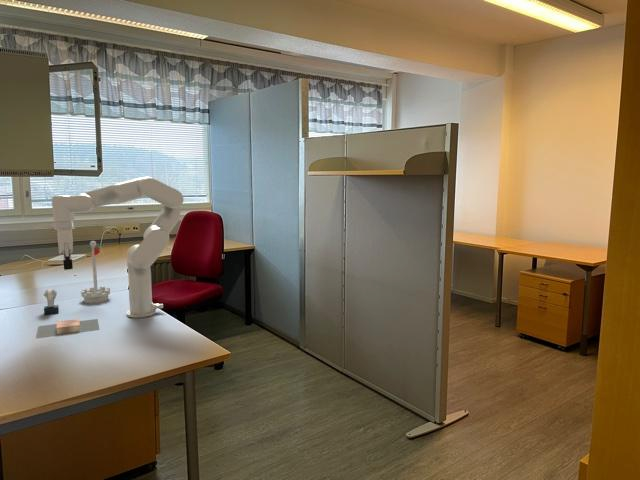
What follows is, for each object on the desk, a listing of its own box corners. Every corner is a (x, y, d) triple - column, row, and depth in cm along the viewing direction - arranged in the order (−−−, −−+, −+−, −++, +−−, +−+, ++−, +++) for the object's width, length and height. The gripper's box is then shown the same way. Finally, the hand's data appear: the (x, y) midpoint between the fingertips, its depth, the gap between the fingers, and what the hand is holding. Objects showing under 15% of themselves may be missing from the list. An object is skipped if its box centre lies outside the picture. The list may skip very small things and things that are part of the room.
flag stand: (76, 301, 231) (72, 241, 227) (99, 295, 243) (95, 238, 239) (93, 304, 225) (89, 243, 221) (116, 298, 237) (113, 240, 233)
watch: (59, 310, 216) (57, 287, 215) (58, 314, 209) (56, 290, 207) (45, 311, 214) (43, 288, 212) (43, 316, 206) (42, 292, 205)
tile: (79, 318, 194) (79, 325, 186) (79, 324, 194) (79, 331, 186) (57, 321, 190) (56, 328, 182) (57, 327, 190) (56, 334, 183)
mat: (97, 320, 202) (97, 318, 202) (99, 330, 188) (99, 329, 188) (38, 327, 192) (38, 326, 192) (35, 339, 178) (35, 338, 178)
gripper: (54, 224, 196) (58, 266, 199) (53, 227, 183) (58, 273, 186) (74, 223, 200) (78, 265, 203) (75, 226, 187) (79, 271, 190)
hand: (68, 269), depth 194 cm, fingers closed
